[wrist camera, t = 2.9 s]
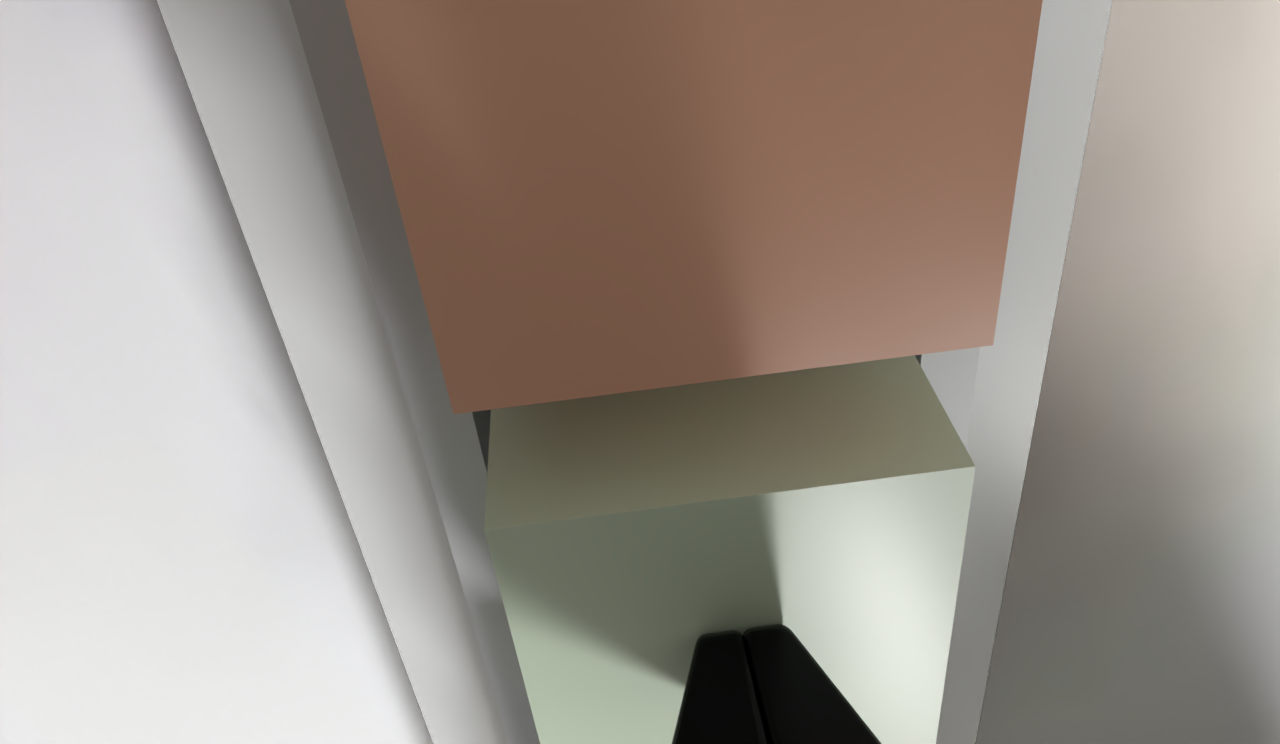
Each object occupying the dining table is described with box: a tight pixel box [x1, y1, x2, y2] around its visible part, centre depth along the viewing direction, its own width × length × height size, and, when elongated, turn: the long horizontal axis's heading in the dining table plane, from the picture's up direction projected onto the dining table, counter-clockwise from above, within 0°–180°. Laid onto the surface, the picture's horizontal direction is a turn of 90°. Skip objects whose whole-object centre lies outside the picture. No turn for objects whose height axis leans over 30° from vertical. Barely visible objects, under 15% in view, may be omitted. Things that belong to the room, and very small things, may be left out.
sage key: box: [484, 355, 976, 744], centre depth 10 cm, size 4×4×2 cm
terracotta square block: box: [345, 0, 1043, 414], centre depth 7 cm, size 4×4×2 cm
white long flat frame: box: [156, 0, 1112, 744], centre depth 14 cm, size 9×22×3 cm, turn 5°
